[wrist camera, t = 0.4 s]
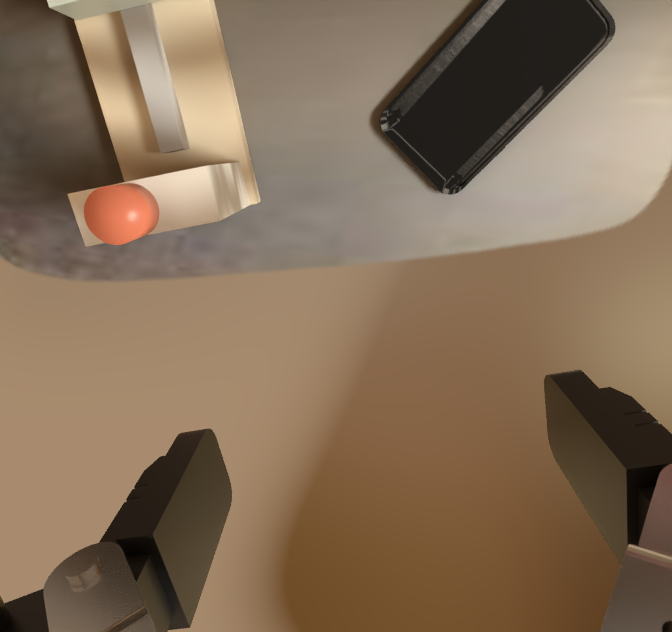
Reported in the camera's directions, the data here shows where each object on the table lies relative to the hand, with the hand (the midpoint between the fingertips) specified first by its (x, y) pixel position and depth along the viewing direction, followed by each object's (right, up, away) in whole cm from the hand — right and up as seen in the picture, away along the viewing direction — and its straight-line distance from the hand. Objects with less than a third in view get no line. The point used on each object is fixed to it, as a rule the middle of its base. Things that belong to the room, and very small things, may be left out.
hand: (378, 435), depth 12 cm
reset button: (-12, +8, +15) cm, 21 cm away
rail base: (-13, +21, +23) cm, 33 cm away
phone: (+10, +19, +23) cm, 31 cm away
